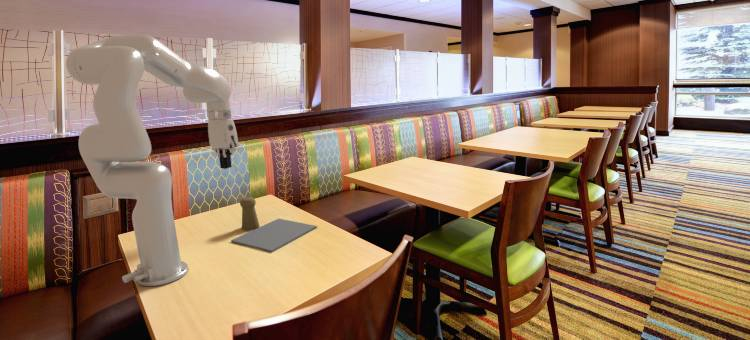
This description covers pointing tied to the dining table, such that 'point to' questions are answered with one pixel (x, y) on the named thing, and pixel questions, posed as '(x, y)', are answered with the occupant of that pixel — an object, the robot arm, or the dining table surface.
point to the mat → (274, 235)
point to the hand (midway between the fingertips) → (226, 167)
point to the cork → (249, 214)
